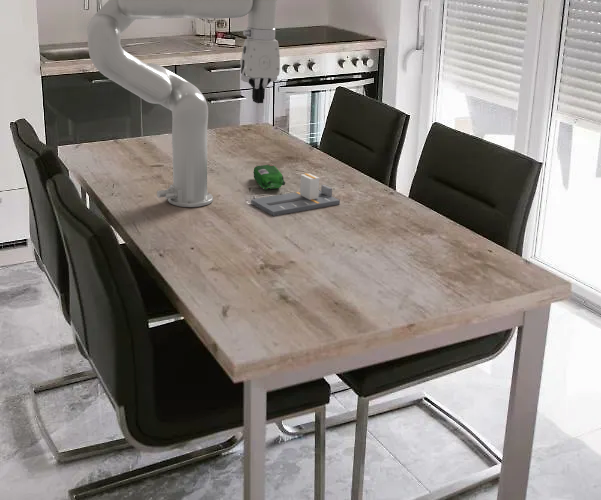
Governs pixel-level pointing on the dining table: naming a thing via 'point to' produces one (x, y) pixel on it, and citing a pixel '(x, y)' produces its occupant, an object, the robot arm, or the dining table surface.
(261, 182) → the snack package
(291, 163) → the dining table surface
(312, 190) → the fader tab
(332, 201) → the console
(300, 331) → the dining table surface
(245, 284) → the dining table surface
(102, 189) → the dining table surface
